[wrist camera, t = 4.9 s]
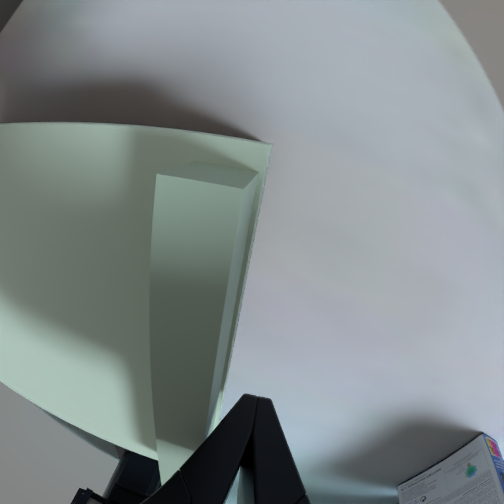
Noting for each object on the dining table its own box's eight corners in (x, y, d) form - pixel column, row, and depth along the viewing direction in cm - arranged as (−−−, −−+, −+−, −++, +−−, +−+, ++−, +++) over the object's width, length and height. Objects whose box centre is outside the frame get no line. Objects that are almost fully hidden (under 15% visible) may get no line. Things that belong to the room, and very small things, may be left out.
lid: (211, 461, 12) (197, 509, 10) (-27, 348, 13) (-52, 372, 11) (272, 143, 7) (257, 150, 4) (-66, 130, 8) (-106, 141, 5)
